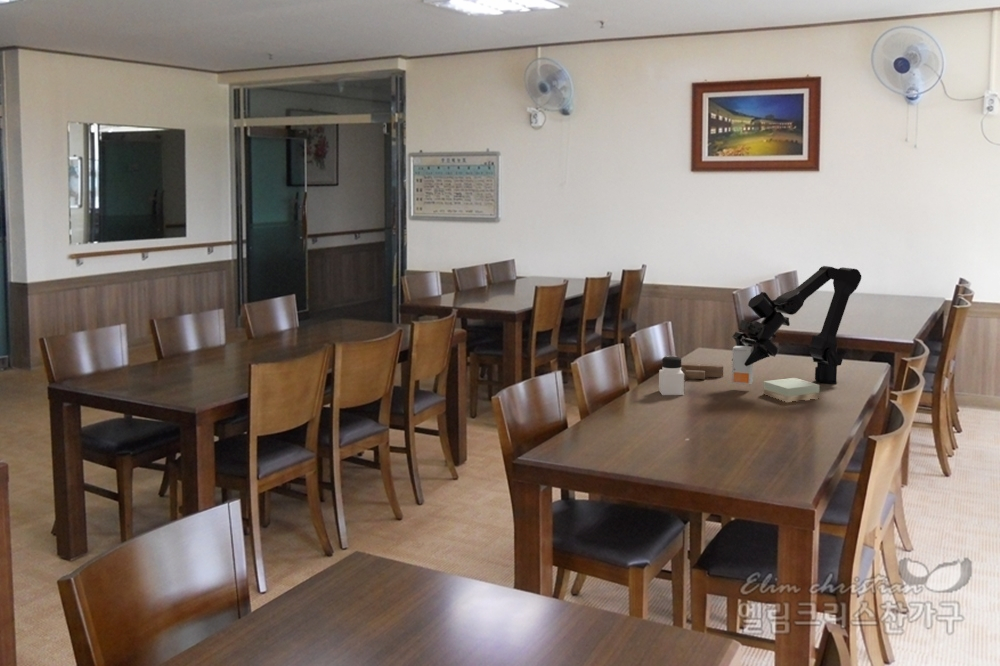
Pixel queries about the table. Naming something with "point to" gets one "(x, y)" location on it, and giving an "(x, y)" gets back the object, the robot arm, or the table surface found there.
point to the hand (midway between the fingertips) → (738, 363)
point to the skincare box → (742, 365)
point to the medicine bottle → (671, 376)
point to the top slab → (791, 387)
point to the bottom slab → (791, 398)
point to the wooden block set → (701, 370)
